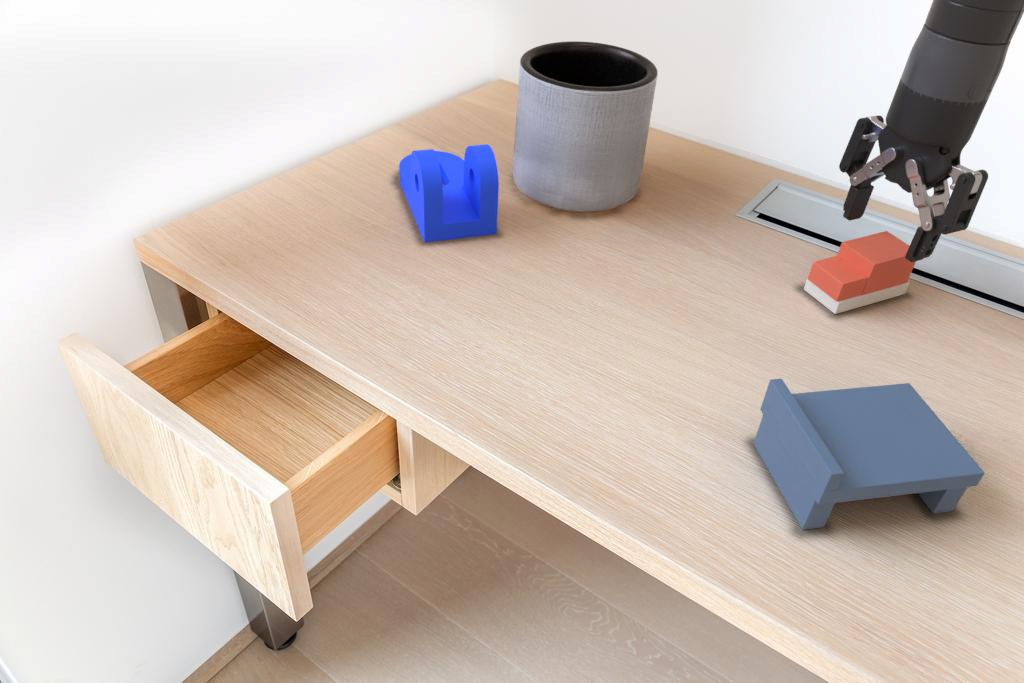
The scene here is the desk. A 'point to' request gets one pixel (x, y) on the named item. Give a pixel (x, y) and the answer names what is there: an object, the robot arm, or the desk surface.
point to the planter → (582, 125)
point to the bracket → (452, 192)
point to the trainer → (861, 273)
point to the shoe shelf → (859, 449)
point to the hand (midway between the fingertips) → (881, 237)
